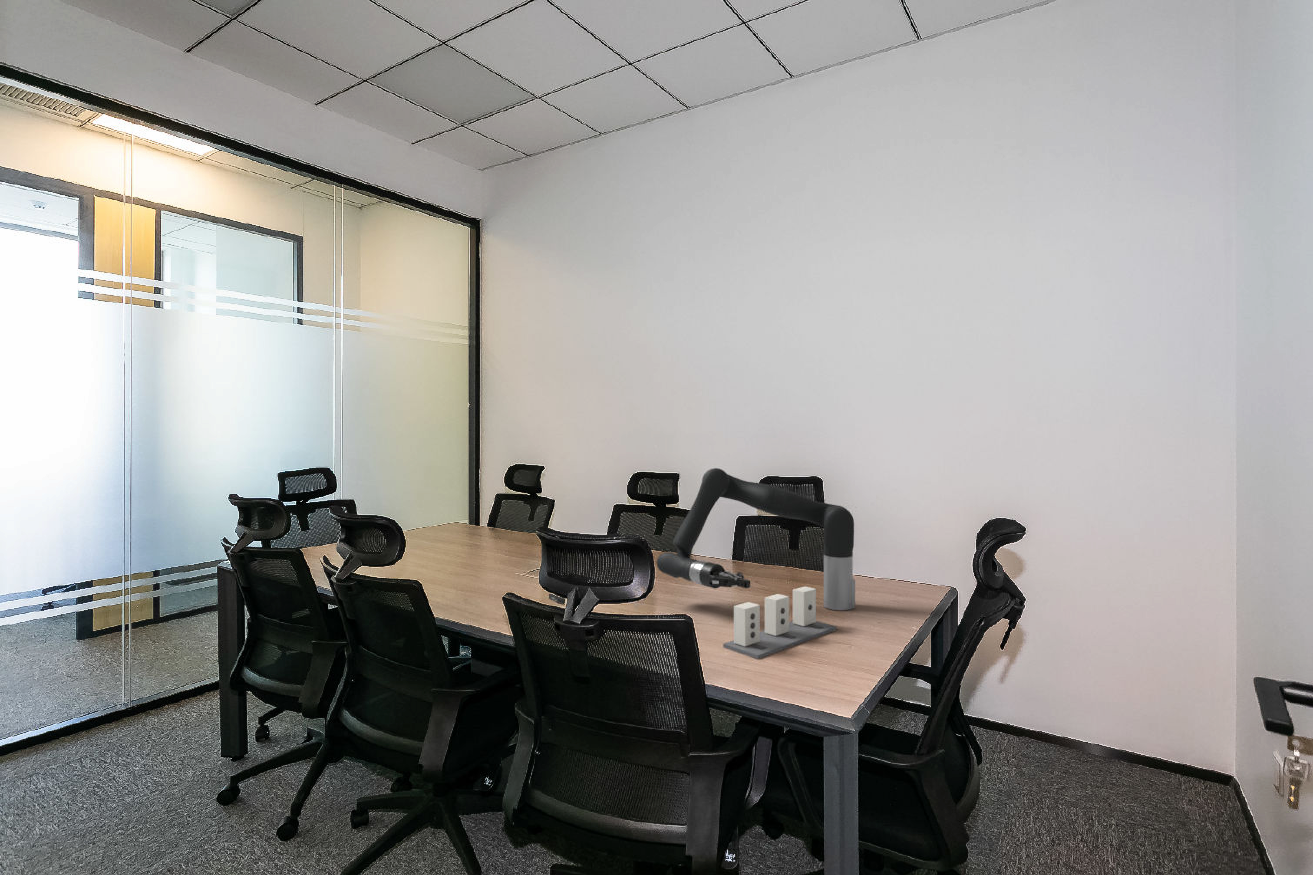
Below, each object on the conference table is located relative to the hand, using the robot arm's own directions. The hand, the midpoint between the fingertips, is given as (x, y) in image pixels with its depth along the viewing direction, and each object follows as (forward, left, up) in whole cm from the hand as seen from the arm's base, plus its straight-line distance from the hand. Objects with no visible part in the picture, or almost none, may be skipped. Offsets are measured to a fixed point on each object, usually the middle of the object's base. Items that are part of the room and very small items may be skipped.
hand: (748, 584), depth 194 cm
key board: (-6, +11, -13) cm, 18 cm away
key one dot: (-17, +2, -12) cm, 20 cm away
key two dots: (-5, +9, -12) cm, 16 cm away
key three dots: (+6, +15, -12) cm, 20 cm away
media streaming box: (+49, -45, -14) cm, 68 cm away
